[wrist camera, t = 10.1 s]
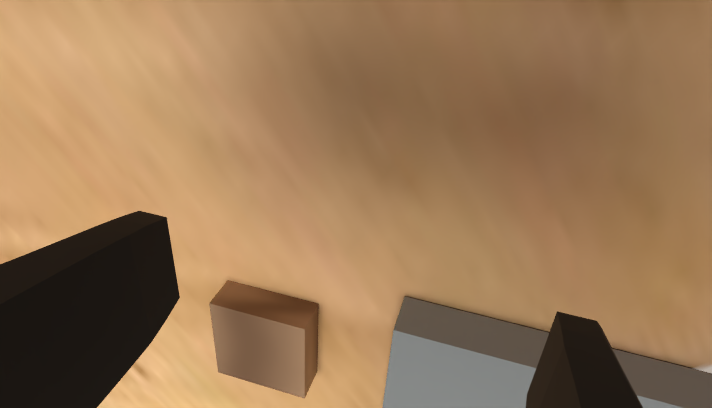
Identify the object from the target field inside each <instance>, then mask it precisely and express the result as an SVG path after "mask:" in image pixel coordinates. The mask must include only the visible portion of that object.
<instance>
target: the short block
mask: <svg viewBox="0 0 712 408" xmlns="http://www.w3.org/2000/svg"><path fill="white" fill-rule="evenodd" d="M209 305H210V312H211V320H212V328H213V335H214V343H215V351H216V358H217V366H218V372H219V373H223V374H226V375H229V376H233V377H236V378H239V379H242V380H246V381H249V382H252V383H256V384H259V385H262V386H265V387H269V388H272V389H275V390H279V391H282V392H285V393H289V394H292V395H295V396H298V397H302V398H305V396H306V394H307V392H308V390H309V388H310V386H311V384H312V381H313V379H314V377H315V375H316V373H317V357H318V303H314V302H310V301H306V300H302V299H298V298H294V297H290V296H287V295H283V294H279V293H275V292H271V291H267V290H263V289H259V288H255V287H252V286H248V285H244V284H240V283H236V282H232V281H227V282H226V283H225V285H224V286H223V287H222V288H221V290H220V291H219V292H218V293H217V294H216V296H215V297H214V298H213V299H212V301H211V302H210V303H209Z"/></svg>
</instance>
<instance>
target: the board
mask: <svg viewBox="0 0 712 408" xmlns="http://www.w3.org/2000/svg"><path fill="white" fill-rule="evenodd" d="M548 335H549V333H548V332H545V331H541V330H537V329H533V328H529V327H525V326H521V325H517V324H513V323H509V322H505V321H501V320H497V319H493V318H489V317H485V316H481V315H477V314H473V313H469V312H465V311H461V310H457V309H453V308H449V307H445V306H441V305H437V304H433V303H429V302H425V301H421V300H418V299H414V298H410V297H406V296H405V297H404V300H403V303H402V306H401V309H400V312H399V315H398V318H397V321H396V324H395V327H394V330H393V337H392V344H391V352H390V359H389V366H388V373H387V380H386V387H385V394H384V401H383V408H526V399H527V393H528V390H529V387H530V384H531V382H532V379H533V376H534V373H535V371H536V368H537V365H538V363H539V360H540V357H541V354H542V352H543V349H544V346H545V343H546V341H547V338H548ZM613 351H614V353H615V355H616V357H617V359H618V361H619V363H620V365H621V367H622V369H623V371H624V373H625V375H626V377H627V379H628V380H629V382H630V384H631V386H632V388H633V390H634V392H635V393H636V395H637V397H638V399H639V401H640V403H641V405H642V406H643V408H712V374H711V373H707V372H703V371H699V370H695V369H691V368H687V367H683V366H679V365H676V364H672V363H668V362H664V361H660V360H656V359H652V358H648V357H644V356H640V355H636V354H632V353H628V352H624V351H620V350H616V349H613Z"/></svg>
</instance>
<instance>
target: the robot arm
mask: <svg viewBox="0 0 712 408" xmlns="http://www.w3.org/2000/svg"><path fill="white" fill-rule="evenodd" d="M179 298H180V296H179V290H178V284H177V278H176V272H175V266H174V260H173V254H172V248H171V242H170V235H169V229H168V223H167V217H163V216H159V215H154V214H150V213H146V212H142V211H137V212H134V213H131V214H128V215H125V216H122V217H119V218H116V219H114V220H111V221H108V222H106V223H103V224H101V225H98V226H96V227H93V228H91V229H88V230H86V231H83V232H81V233H78V234H76V235H73V236H71V237H68V238H66V239H63V240H61V241H58V242H56V243H53V244H51V245H48V246H46V247H43V248H41V249H38V250H36V251H33V252H31V253H29V254H26V255H24V256H21V257H19V258H16V259H13V260H11V261H8V262H6V263H3V264H0V408H97V407H98V406H99V404H100V403H101V402H102V401H103V400H104V399H105V397H106V396H107V395H108V394H109V393H110V391H111V390H112V389H113V388H114V387H115V385H116V384H117V383H118V382H119V381H120V380H121V378H122V377H123V376H124V375H125V374H126V372H127V371H128V370H129V369H130V368H131V366H132V365H133V364H134V363H135V362H136V360H137V359H138V358H139V357H140V355H141V354H142V353H143V352H144V351H145V349H146V348H147V347H148V346H149V344H150V343H151V342H152V341H153V339H154V337H155V336H156V334H157V333H158V331H159V330H160V328H161V327H162V325H163V324H164V322H165V321H166V319H167V318H168V316H169V314H170V313H171V311H172V309H173V308H174V306H175V304H176V303H177V301H178V299H179ZM526 408H643V406H642V405H641V403H640V401H639V399H638V397H637V395H636V393H635V392H634V390H633V388H632V386H631V384H630V382H629V380H628V379H627V377H626V375H625V373H624V371H623V369H622V367H621V365H620V363H619V361H618V359H617V357H616V355H615V353H614V351H613V349H612V347H611V346H610V344H609V342H608V340H607V338H606V336H605V334H604V332H603V330H602V328H601V326H600V325H599V323H598V322H597V321H594V320H590V319H586V318H582V317H578V316H573V315H569V314H565V313H561V312H557V313H556V316H555V319H554V322H553V324H552V327H551V330H550V332H549V335H548V338H547V341H546V343H545V346H544V349H543V352H542V354H541V357H540V360H539V363H538V365H537V368H536V371H535V373H534V376H533V379H532V382H531V384H530V387H529V390H528V393H527V399H526Z"/></svg>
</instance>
